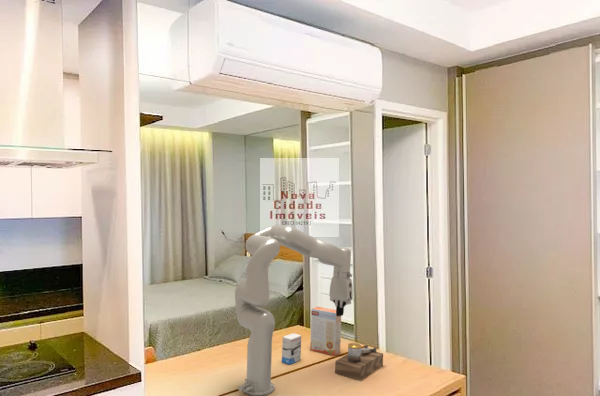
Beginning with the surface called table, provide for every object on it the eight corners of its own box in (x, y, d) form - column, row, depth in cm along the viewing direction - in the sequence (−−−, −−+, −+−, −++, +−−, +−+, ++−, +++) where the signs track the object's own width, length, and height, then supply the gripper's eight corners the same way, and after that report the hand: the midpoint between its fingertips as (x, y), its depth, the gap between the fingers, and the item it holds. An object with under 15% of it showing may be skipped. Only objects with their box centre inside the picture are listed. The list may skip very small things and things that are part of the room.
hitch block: (359, 380, 191) (360, 363, 191) (335, 373, 198) (335, 356, 198) (382, 365, 209) (383, 349, 209) (359, 359, 216) (360, 343, 216)
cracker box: (340, 352, 224) (342, 310, 223) (334, 356, 218) (336, 312, 218) (315, 347, 231) (317, 305, 231) (309, 350, 226) (311, 308, 226)
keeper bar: (364, 353, 203) (364, 350, 203) (357, 351, 205) (358, 348, 205) (374, 351, 211) (374, 349, 211) (367, 350, 213) (367, 347, 213)
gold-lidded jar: (362, 371, 200) (363, 345, 200) (356, 375, 195) (357, 348, 195) (351, 368, 203) (352, 342, 203) (345, 371, 199) (345, 345, 198)
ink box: (289, 365, 206) (290, 339, 206) (281, 362, 209) (282, 336, 209) (301, 360, 213) (301, 334, 212) (292, 357, 216) (293, 332, 215)
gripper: (360, 276, 206) (358, 317, 206) (332, 272, 215) (330, 311, 215) (351, 278, 200) (349, 320, 200) (323, 273, 209) (321, 313, 209)
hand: (339, 315), depth 207 cm, fingers closed
